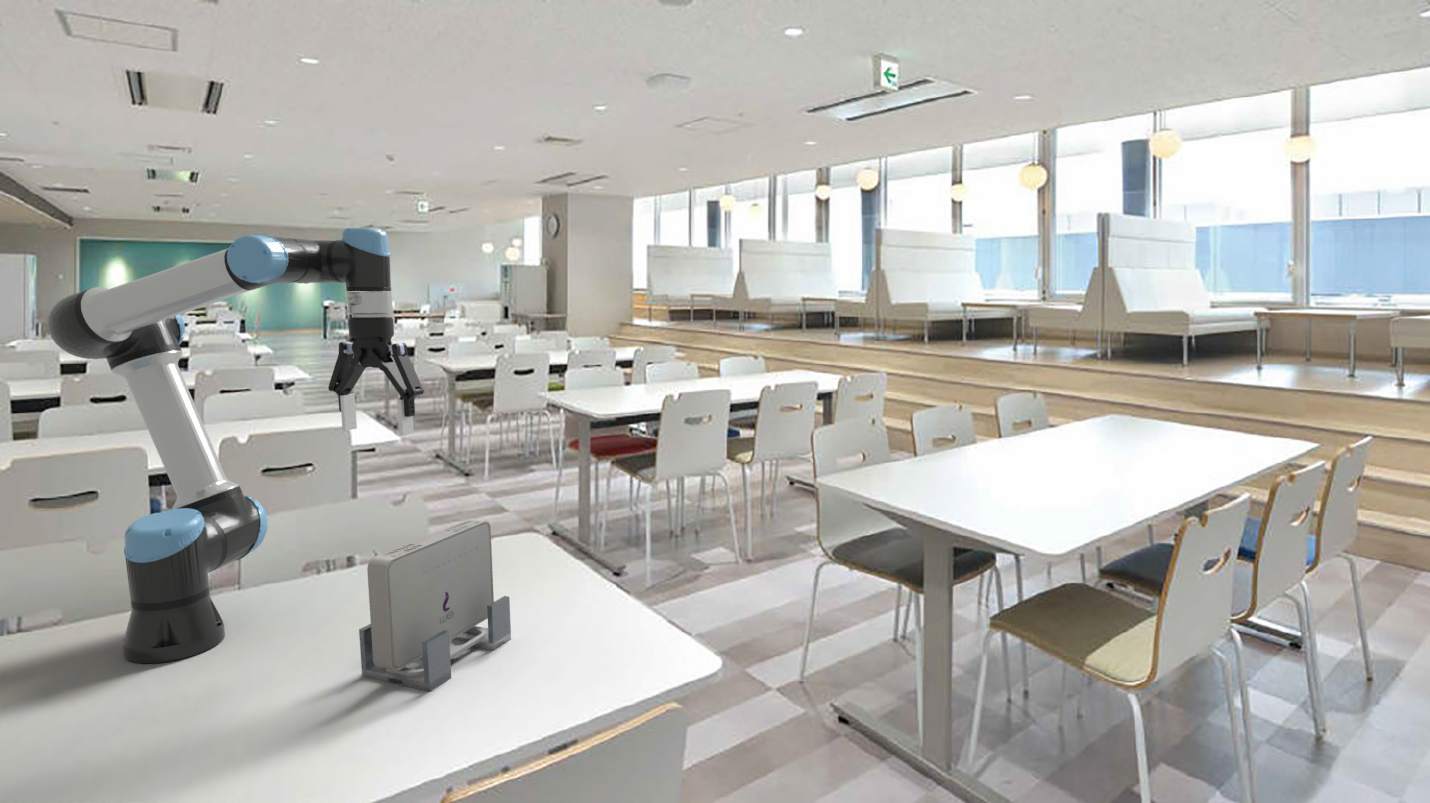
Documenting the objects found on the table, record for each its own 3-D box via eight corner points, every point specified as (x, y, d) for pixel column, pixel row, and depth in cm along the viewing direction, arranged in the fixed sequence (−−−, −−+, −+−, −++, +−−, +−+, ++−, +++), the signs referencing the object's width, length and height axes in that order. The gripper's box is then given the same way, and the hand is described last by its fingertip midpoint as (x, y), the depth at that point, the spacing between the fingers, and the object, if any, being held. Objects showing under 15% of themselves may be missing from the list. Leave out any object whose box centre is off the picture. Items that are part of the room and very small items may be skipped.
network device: (403, 687, 128) (396, 564, 125) (361, 678, 131) (353, 557, 128) (504, 625, 151) (500, 520, 149) (466, 618, 155) (461, 515, 152)
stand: (362, 675, 135) (359, 629, 133) (448, 626, 154) (446, 586, 153) (429, 691, 129) (427, 643, 128) (511, 638, 149) (509, 596, 147)
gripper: (302, 315, 149) (310, 430, 152) (409, 317, 140) (416, 439, 143) (335, 314, 156) (342, 424, 159) (440, 315, 147) (446, 432, 150)
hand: (377, 432), depth 151 cm, fingers open, 13 cm apart
